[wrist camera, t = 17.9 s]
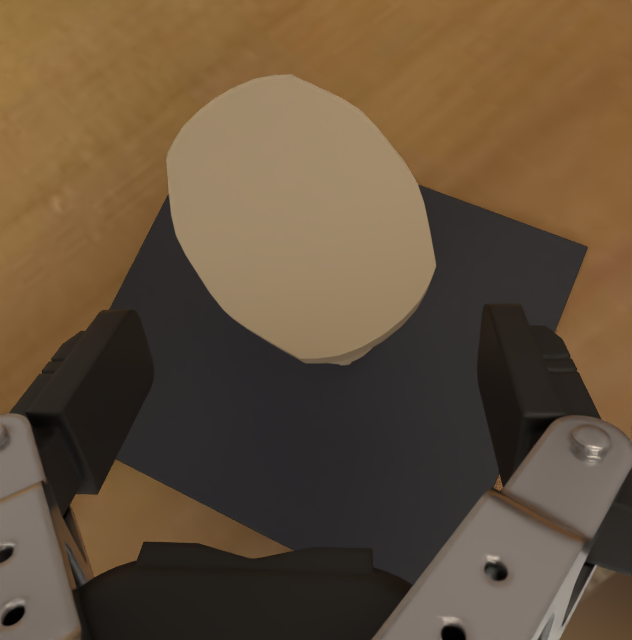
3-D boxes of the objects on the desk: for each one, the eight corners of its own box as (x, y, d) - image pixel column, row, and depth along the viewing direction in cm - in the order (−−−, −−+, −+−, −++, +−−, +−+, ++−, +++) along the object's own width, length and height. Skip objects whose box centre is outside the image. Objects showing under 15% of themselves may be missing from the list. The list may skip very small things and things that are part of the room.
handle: (337, 418, 25) (280, 403, 11) (263, 305, 27) (123, 158, 12) (424, 358, 25) (485, 264, 11) (345, 250, 27) (306, 37, 12)
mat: (55, 425, 27) (49, 425, 27) (214, 113, 30) (211, 108, 29) (438, 622, 24) (439, 625, 23) (584, 249, 26) (588, 246, 26)
